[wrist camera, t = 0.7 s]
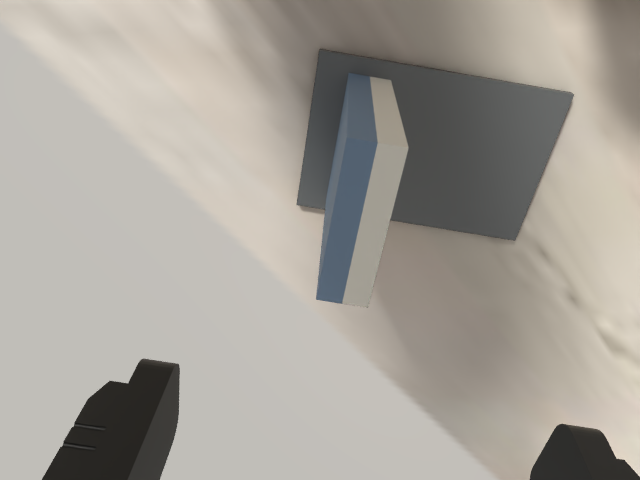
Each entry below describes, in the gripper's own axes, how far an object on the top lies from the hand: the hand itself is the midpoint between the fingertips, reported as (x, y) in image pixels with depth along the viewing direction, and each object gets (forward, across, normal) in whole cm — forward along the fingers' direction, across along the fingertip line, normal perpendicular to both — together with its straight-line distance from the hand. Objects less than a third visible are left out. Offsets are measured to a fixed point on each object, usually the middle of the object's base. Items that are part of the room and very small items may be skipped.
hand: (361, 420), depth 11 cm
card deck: (+17, 0, 0) cm, 17 cm away
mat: (+18, -4, 0) cm, 18 cm away
